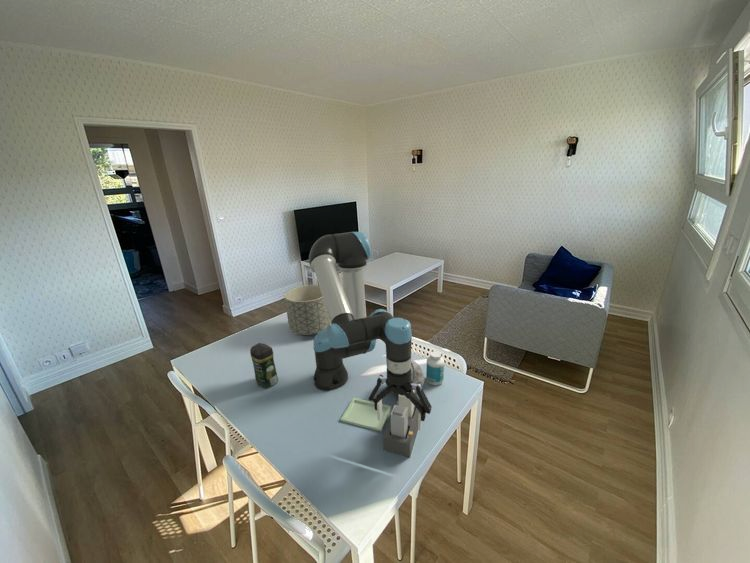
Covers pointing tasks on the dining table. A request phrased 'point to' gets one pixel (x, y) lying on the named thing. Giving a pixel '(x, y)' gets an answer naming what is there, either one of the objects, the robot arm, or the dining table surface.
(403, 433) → the plug
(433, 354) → the pill bottle
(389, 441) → the charging dock
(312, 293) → the planter
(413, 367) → the decorative orb
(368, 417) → the tray
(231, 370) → the dining table surface
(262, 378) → the coffee jar
